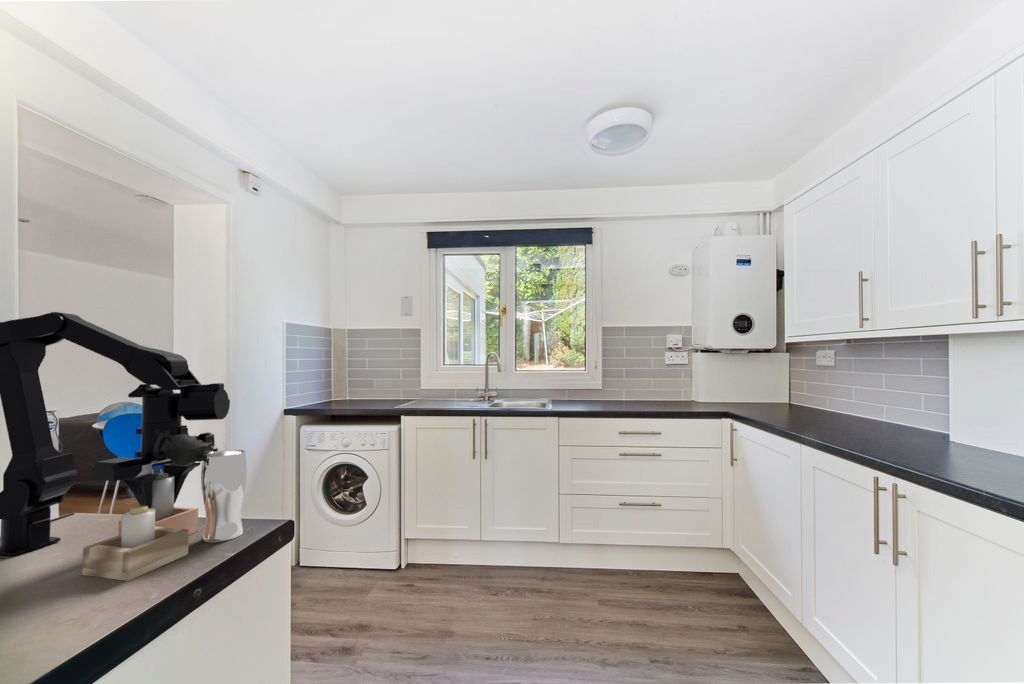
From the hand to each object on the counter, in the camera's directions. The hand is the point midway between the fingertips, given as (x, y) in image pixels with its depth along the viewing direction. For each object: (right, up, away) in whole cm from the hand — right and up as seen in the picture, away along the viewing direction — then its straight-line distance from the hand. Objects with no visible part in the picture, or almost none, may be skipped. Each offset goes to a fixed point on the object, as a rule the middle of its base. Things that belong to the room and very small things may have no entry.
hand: (159, 507), depth 79 cm
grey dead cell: (0, -2, 0) cm, 2 cm away
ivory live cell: (+5, -4, -11) cm, 13 cm away
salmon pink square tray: (0, -5, 0) cm, 5 cm away
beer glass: (+12, -5, 0) cm, 13 cm away
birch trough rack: (+5, -5, -11) cm, 13 cm away
